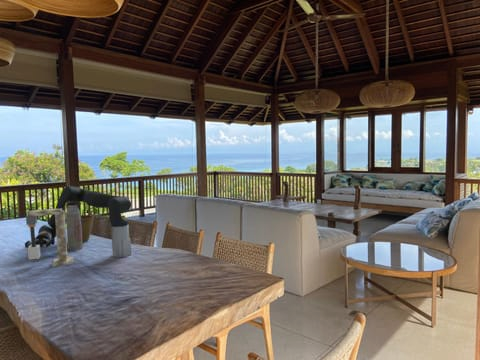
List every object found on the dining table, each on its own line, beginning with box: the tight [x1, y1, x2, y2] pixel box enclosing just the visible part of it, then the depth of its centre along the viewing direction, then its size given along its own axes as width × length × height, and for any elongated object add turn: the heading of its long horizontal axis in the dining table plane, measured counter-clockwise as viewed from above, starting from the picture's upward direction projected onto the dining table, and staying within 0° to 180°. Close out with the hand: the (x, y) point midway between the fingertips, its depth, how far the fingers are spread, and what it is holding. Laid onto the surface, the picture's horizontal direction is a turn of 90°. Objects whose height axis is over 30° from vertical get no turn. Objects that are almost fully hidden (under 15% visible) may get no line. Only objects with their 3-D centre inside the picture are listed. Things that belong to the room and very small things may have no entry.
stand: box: [27, 208, 74, 267], centre depth 175 cm, size 18×9×29 cm, turn 112°
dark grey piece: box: [25, 215, 40, 263], centre depth 172 cm, size 4×4×24 cm
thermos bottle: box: [65, 202, 84, 251], centre depth 202 cm, size 8×8×28 cm
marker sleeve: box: [27, 245, 41, 260], centre depth 173 cm, size 5×5×6 cm
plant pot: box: [81, 214, 94, 243], centre depth 219 cm, size 15×15×16 cm
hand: (37, 246), depth 182 cm, fingers open, 8 cm apart
